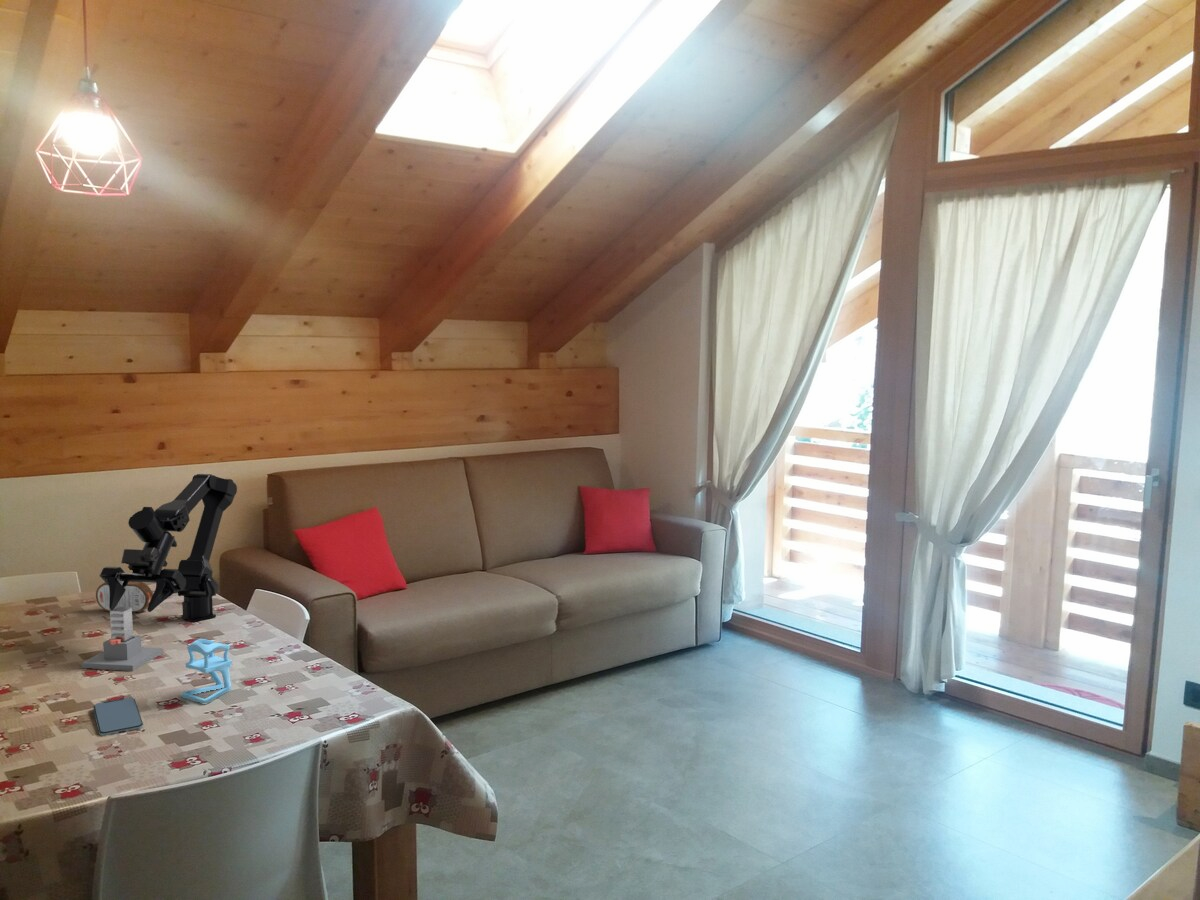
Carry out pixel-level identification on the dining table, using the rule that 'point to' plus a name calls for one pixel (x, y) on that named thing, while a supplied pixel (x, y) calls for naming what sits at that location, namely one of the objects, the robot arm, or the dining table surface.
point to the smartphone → (117, 716)
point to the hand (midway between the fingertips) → (129, 610)
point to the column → (121, 624)
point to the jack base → (122, 655)
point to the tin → (126, 596)
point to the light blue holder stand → (209, 668)
